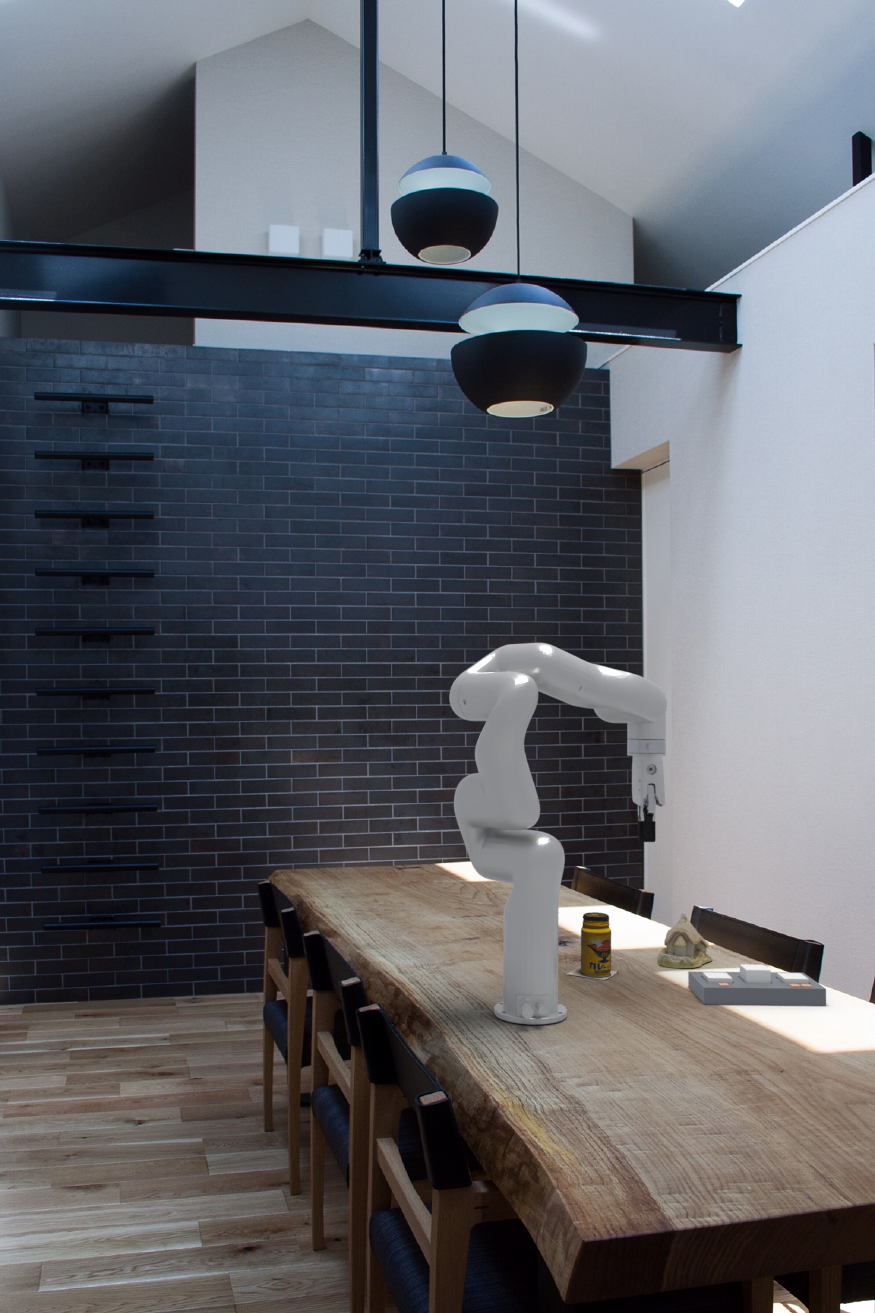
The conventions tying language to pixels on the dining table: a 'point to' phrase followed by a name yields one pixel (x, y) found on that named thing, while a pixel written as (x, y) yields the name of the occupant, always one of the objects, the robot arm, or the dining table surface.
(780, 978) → the key
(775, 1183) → the dining table surface
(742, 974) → the key
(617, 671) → the robot arm
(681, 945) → the ceramic model
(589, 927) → the condiment
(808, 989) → the keypad
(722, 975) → the key
